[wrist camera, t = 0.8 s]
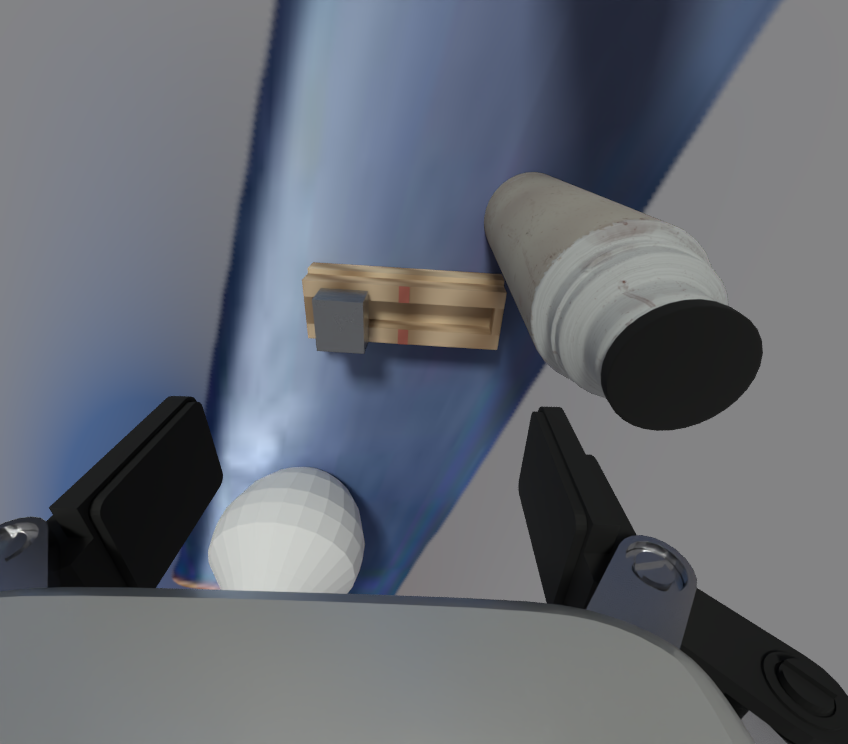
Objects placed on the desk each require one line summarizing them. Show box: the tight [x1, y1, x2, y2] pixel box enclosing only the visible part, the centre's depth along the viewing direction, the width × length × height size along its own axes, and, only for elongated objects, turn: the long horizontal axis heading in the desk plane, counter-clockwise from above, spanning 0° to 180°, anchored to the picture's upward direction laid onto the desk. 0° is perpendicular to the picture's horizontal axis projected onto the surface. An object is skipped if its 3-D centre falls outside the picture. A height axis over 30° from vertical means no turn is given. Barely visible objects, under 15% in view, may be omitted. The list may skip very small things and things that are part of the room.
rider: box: [312, 288, 369, 354], centre depth 37 cm, size 4×5×5 cm
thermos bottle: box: [484, 172, 763, 431], centre depth 25 cm, size 8×8×28 cm
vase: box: [208, 467, 365, 594], centre depth 44 cm, size 18×18×30 cm
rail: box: [302, 262, 507, 350], centre depth 40 cm, size 19×7×4 cm, turn 87°
